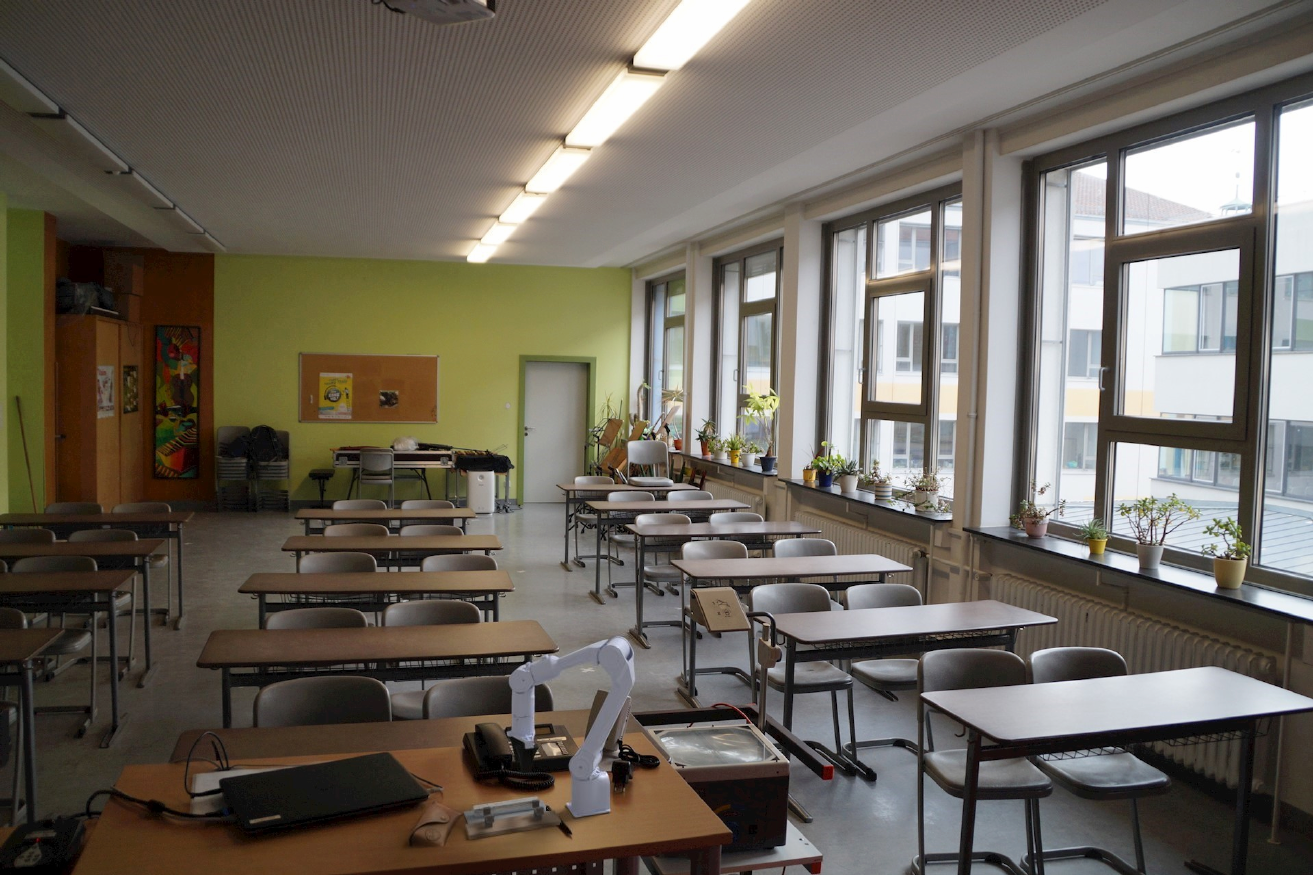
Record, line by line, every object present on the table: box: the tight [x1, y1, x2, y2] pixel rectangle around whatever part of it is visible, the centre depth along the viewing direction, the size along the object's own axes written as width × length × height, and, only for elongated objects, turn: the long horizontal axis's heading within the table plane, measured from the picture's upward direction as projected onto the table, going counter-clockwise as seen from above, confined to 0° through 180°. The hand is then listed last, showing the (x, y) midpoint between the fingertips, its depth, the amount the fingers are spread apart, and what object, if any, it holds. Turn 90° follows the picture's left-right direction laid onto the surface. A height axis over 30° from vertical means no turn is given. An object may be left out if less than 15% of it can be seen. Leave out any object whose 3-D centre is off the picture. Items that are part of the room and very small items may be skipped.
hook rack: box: [464, 798, 562, 840], centre depth 216 cm, size 22×6×5 cm, turn 112°
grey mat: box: [462, 799, 547, 824], centre depth 223 cm, size 20×7×1 cm, turn 112°
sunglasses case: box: [408, 800, 463, 848], centre depth 214 cm, size 18×7×7 cm
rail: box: [472, 795, 539, 818], centre depth 223 cm, size 16×2×2 cm, turn 112°
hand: (522, 766), depth 229 cm, fingers open, 7 cm apart
